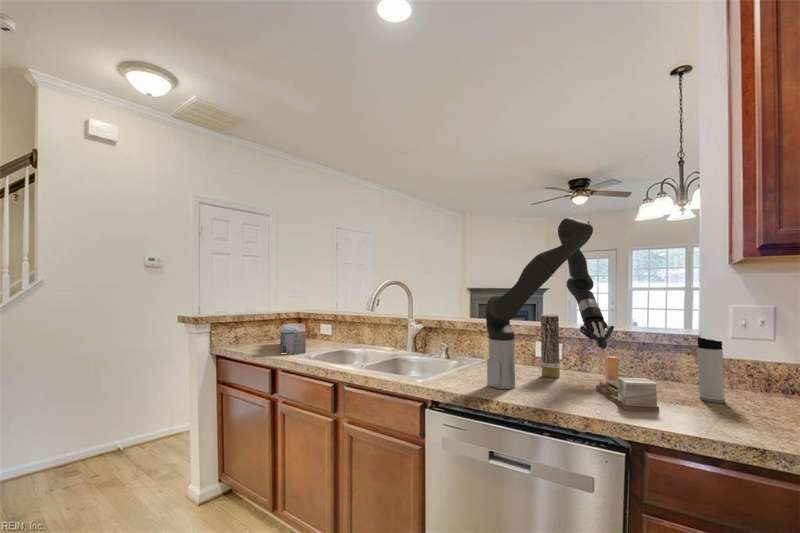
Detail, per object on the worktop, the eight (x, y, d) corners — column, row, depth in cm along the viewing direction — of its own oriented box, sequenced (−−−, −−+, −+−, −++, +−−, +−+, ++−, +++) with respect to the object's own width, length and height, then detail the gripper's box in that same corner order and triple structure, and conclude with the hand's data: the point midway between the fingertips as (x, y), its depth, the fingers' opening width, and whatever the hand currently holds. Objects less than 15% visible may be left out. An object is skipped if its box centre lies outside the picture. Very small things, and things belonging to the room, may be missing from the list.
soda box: (282, 344, 241) (282, 323, 242) (304, 343, 245) (305, 323, 246) (279, 355, 202) (280, 331, 203) (306, 354, 206) (306, 330, 206)
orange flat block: (632, 395, 120) (631, 363, 121) (621, 394, 121) (620, 363, 122) (615, 384, 133) (614, 356, 134) (605, 384, 134) (604, 356, 134)
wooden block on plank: (659, 412, 110) (658, 383, 111) (626, 410, 111) (625, 382, 112) (622, 389, 134) (622, 366, 134) (596, 388, 135) (595, 365, 136)
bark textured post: (556, 374, 157) (555, 314, 158) (562, 378, 150) (560, 315, 151) (539, 374, 157) (538, 314, 159) (544, 378, 151) (543, 315, 152)
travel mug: (693, 397, 124) (691, 336, 125) (712, 397, 125) (709, 336, 126) (710, 403, 118) (708, 339, 119) (730, 403, 118) (727, 339, 119)
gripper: (605, 318, 155) (619, 353, 143) (571, 318, 157) (582, 353, 144) (610, 306, 150) (625, 341, 138) (575, 306, 152) (586, 341, 139)
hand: (603, 347), depth 141 cm, fingers closed
